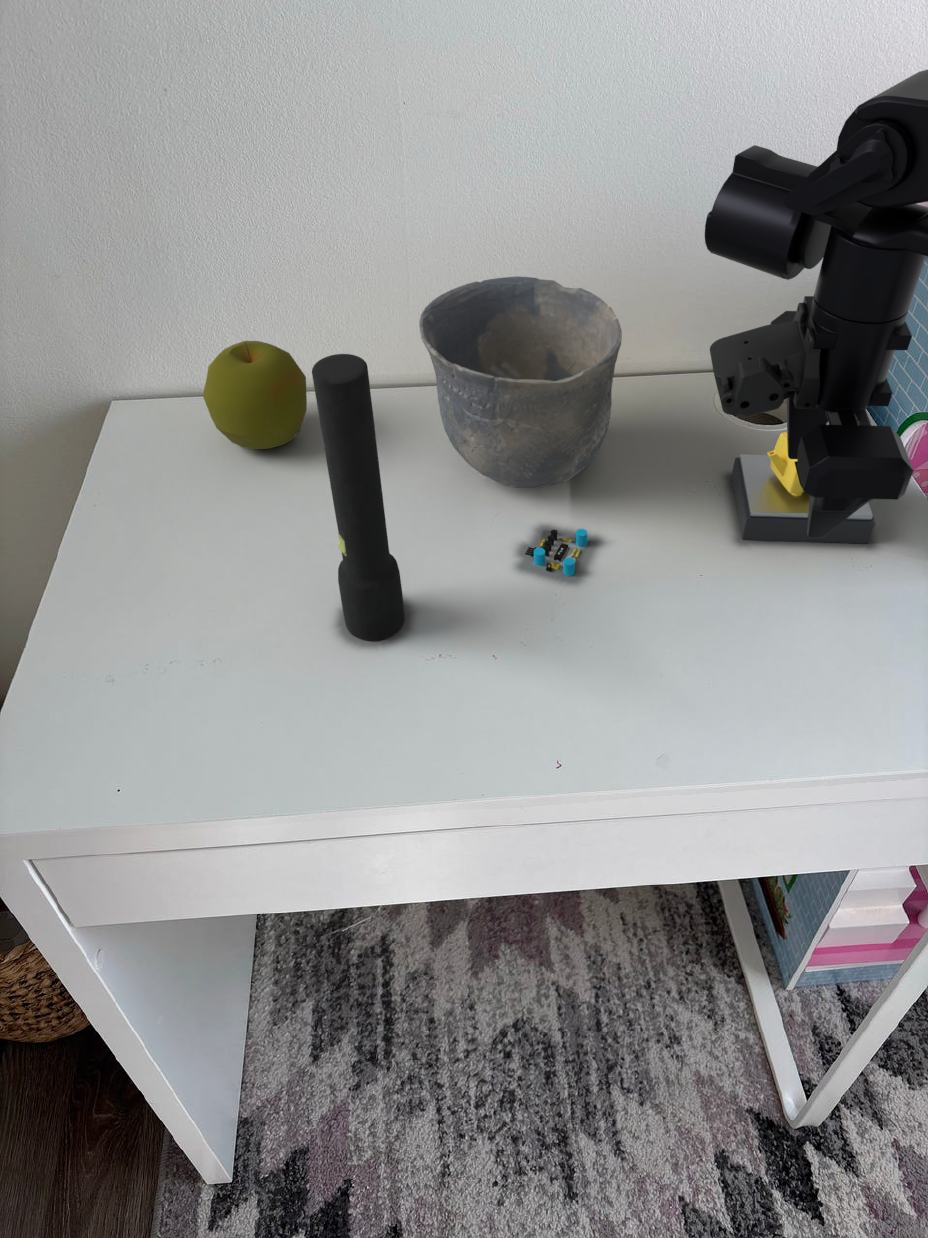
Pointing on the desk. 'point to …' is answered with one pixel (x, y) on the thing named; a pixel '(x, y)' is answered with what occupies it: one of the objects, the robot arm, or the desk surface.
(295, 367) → the apple
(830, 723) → the desk surface
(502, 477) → the bowl
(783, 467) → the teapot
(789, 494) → the scale
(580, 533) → the circuit board
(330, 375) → the flashlight
